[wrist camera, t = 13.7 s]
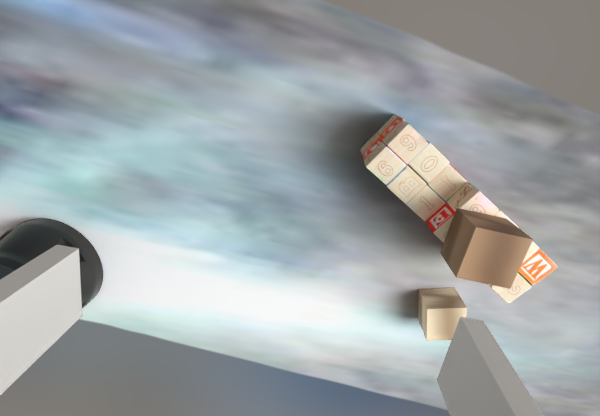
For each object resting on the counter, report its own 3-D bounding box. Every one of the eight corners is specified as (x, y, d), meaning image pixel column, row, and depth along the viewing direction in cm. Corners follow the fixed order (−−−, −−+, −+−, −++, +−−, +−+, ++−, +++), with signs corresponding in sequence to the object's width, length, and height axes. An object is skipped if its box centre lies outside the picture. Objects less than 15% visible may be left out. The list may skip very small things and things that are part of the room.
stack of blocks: (357, 149, 47) (367, 173, 36) (394, 112, 46) (416, 124, 34) (468, 254, 51) (509, 306, 40) (506, 223, 49) (560, 268, 38)
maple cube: (418, 317, 55) (426, 340, 50) (418, 288, 53) (427, 309, 49) (452, 316, 55) (464, 339, 50) (454, 287, 53) (466, 307, 48)
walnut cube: (440, 252, 38) (456, 277, 33) (456, 207, 36) (476, 227, 32) (487, 262, 38) (510, 288, 33) (506, 218, 36) (533, 239, 32)
